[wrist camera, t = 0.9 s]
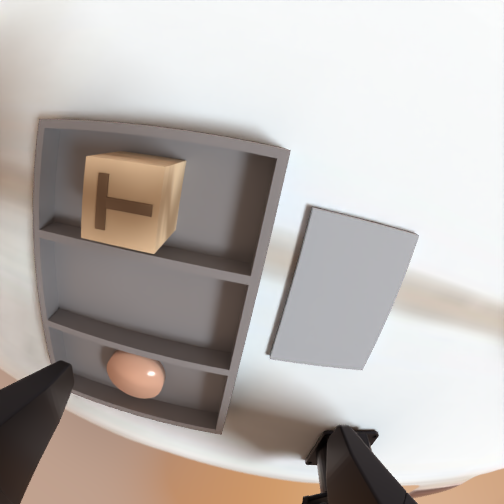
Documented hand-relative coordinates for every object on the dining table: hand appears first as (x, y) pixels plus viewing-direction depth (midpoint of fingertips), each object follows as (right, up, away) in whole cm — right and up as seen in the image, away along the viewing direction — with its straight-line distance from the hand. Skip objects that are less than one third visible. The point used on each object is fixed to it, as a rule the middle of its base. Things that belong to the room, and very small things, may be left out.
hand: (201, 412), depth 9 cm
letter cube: (-5, +9, +10) cm, 15 cm away
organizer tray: (-7, +2, +13) cm, 15 cm away
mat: (+8, +2, +13) cm, 16 cm away
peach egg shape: (-8, -5, +16) cm, 18 cm away
